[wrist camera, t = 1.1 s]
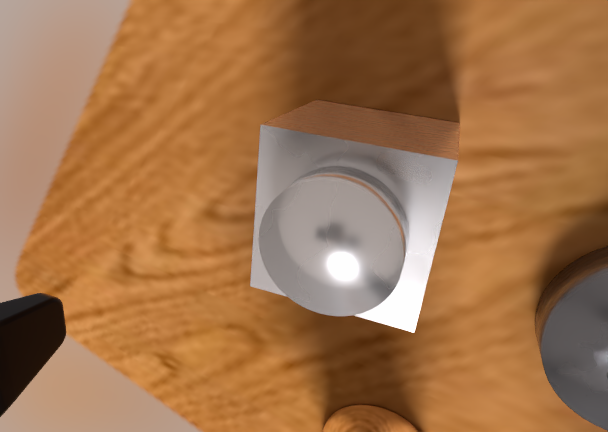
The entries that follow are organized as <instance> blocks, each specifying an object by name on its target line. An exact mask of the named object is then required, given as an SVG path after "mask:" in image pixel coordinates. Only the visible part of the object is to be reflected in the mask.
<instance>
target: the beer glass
mask: <svg viewBox="0 0 608 432" xmlns="http://www.w3.org/2000/svg"><path fill="white" fill-rule="evenodd" d="M323 432H419V431H418V430H417V429H416V428H415V427H414V426H413V425H412V424H411V423H409V422H408V421H407V420H405V419H404V418H403V417H401V416H399V415H398V414H396V413H394V412H392V411H389V410H387V409H384V408H380V407H376V406H371V405H353V406H348V407H344V408H342V409H340V410H338V411H336V412H335V413H333V414H332V415H331V416H330V417H329V419H328V420H327V422H326V423H325V426H324V429H323Z"/></svg>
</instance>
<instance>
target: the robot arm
mask: <svg viewBox="0 0 608 432" xmlns="http://www.w3.org/2000/svg"><path fill="white" fill-rule="evenodd" d="M65 336H66V325H65V318H64V311H63V305H62V302H61V300H60V299H58V298H56V297H53V296H50V295H47V294H44V293H37V294H33V295H29V296H25V297H21V298H18V299H14V300H10V301H6V302H2V303H0V417H1V416H2V415H3V414H4V413H5V411H6V410H7V409H8V408H9V407H10V406H11V405H12V403H13V402H14V401H15V400H16V399H17V398H18V396H19V395H20V394H21V393H22V392H23V390H24V389H25V388H26V387H27V385H28V384H29V383H30V382H31V381H32V379H33V378H34V377H35V376H36V375H37V373H38V372H39V371H40V370H41V369H42V367H43V366H44V365H45V364H46V362H47V361H48V360H49V359H50V358H51V356H52V355H53V354H54V353H55V351H56V350H57V349H58V348H59V347H60V345H61V344H62V343H63V341H64V338H65Z"/></svg>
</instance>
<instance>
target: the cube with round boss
mask: <svg viewBox="0 0 608 432" xmlns="http://www.w3.org/2000/svg"><path fill="white" fill-rule="evenodd" d="M459 132H460V123H457V122H451V121H445V120H439V119H432V118H426V117H420V116H414V115H408V114H402V113H395V112H389V111H383V110H377V109H371V108H364V107H358V106H352V105H346V104H340V103H334V102H327V101H321V100H315V101H313V102H310V103H308V104H306V105H304V106H301V107H299V108H297V109H294V110H292V111H290V112H288V113H285V114H283V115H281V116H279V117H276V118H274V119H272V120H270V121H267V122H265V123H263V124H261V126H260V142H259V158H258V173H257V189H256V205H255V220H254V236H253V252H252V267H251V283H250V286H251V287H255V288H258V289H262V290H265V291H269V292H272V293H276V294H280V295H283V296H287V297H289V298H290V299H291V300H293V301H294V302H296V303H297V304H299V305H301V306H302V307H304V308H307V309H309V310H311V311H314V312H317V313H320V314H325V315H330V316H351V315H354V316H357V317H361V318H364V319H368V320H371V321H375V322H378V323H382V324H385V325H389V326H393V327H396V328H400V329H403V330H407V331H410V332H415V328H416V324H417V320H418V316H419V312H420V308H421V304H422V300H423V296H424V292H425V288H426V284H427V281H428V277H429V273H430V269H431V265H432V261H433V257H434V253H435V249H436V245H437V241H438V237H439V233H440V229H441V225H442V221H443V218H444V214H445V210H446V206H447V202H448V198H449V194H450V190H451V186H452V182H453V178H454V174H455V170H456V166H457V162H458V151H459Z"/></svg>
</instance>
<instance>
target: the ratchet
mask: <svg viewBox="0 0 608 432" xmlns="http://www.w3.org/2000/svg"><path fill="white" fill-rule="evenodd" d="M535 331H536V336H537V341H538V345H539V349H540V353H541V358H542V362H543V366H544V370H545V373H546V376H547V378H548V381H549V383H550V384H551V386H552V388H553V389H554V391H555V392H556V394H557V395H558V396H559V397H560V398H561V400H562V401H563V402H564V403H565V404H566V405H567V406H568V407H569V408H570V409H572V410H573V411H574V412H576V413H577V414H578V415H580V416H581V417H582V418H584V419H586V420H587V421H589V422H591V423H593V424H594V425H597V426H599V427H601V428H603V429H605V430H608V246H606V247H604V248H601V249H598V250H595V251H593V252H591V253H589V254H587V255H585V256H583V257H581V258H579V259H577V260H576V261H574V262H573V263H571V264H570V265H568V266H567V267H566V268H565V269H564V270H562V271H561V272H560V273H559V274H558V275H557V276H556V277H555V278H554V279H553V280H552V281H551V282H550V284H549V285H548V287H547V288H546V290H545V291H544V293H543V295H542V297H541V299H540V301H539V304H538V308H537V311H536V318H535Z"/></svg>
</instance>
